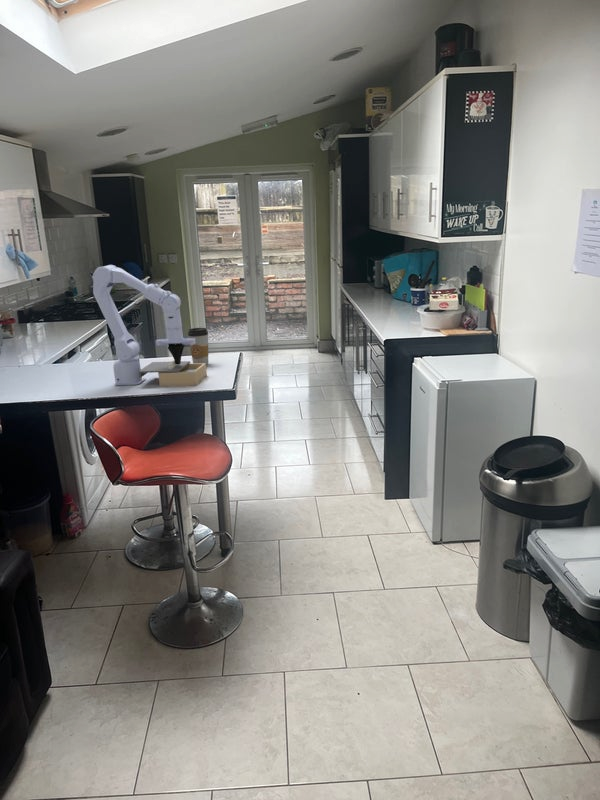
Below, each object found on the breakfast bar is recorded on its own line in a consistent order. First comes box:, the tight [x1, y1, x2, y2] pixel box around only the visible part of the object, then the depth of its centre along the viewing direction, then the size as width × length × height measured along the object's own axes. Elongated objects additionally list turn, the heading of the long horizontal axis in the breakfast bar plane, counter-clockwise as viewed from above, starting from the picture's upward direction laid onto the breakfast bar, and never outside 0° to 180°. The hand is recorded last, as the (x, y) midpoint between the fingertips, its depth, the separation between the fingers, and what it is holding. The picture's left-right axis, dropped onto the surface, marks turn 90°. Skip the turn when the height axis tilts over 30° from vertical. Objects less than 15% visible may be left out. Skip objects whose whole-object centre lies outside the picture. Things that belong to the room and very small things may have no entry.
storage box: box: [157, 363, 208, 387], centre depth 228 cm, size 14×14×5 cm
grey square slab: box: [138, 359, 191, 378], centre depth 228 cm, size 15×15×4 cm
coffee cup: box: [187, 327, 209, 366], centre depth 252 cm, size 8×8×15 cm
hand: (178, 363), depth 227 cm, fingers closed
